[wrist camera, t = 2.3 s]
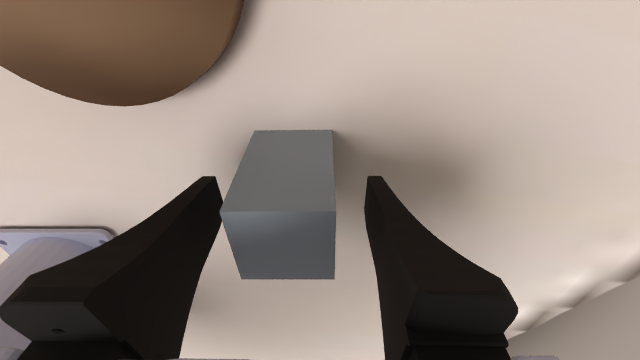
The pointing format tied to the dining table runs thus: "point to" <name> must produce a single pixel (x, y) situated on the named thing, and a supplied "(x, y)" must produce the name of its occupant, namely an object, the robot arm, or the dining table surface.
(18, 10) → the disc
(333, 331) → the dining table surface
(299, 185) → the block
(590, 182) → the dining table surface
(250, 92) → the dining table surface
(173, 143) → the dining table surface
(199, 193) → the robot arm
